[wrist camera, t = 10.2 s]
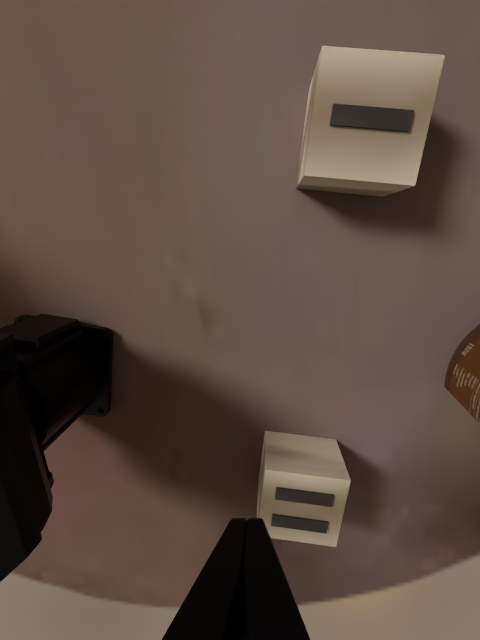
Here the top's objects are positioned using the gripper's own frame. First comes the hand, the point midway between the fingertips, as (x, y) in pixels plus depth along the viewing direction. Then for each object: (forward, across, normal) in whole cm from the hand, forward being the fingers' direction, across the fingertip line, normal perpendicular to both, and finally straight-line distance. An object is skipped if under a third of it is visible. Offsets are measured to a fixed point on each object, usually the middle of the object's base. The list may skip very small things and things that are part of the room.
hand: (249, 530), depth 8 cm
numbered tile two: (+13, -2, +9) cm, 16 cm away
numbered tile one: (+13, -6, -12) cm, 19 cm away
